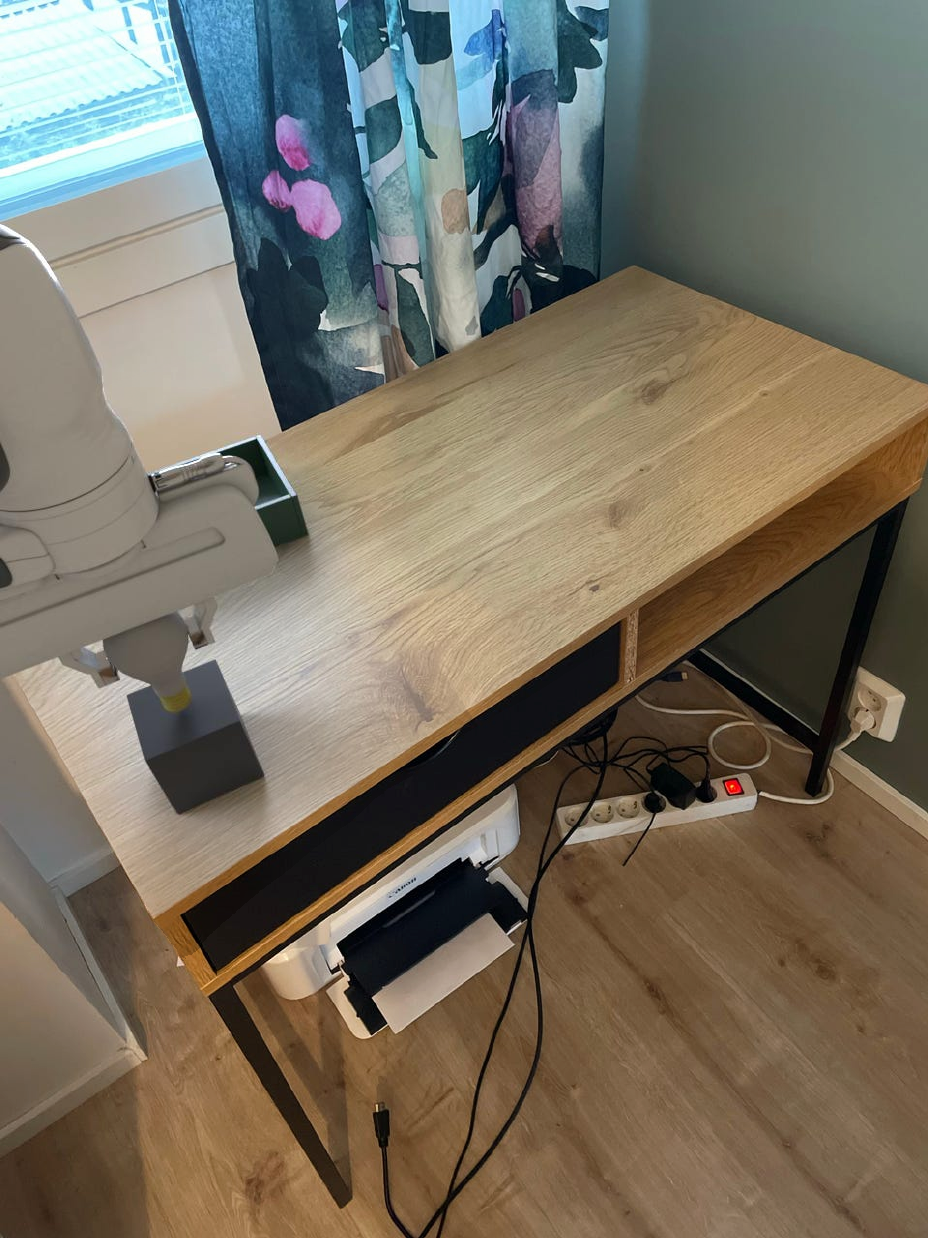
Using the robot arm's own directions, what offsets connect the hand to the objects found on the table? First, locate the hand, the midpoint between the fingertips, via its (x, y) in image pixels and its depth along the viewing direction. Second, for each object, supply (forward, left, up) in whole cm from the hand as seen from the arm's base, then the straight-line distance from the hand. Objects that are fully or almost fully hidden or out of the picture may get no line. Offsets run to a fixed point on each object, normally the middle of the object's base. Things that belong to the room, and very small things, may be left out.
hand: (156, 659), depth 62 cm
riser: (0, 0, -12) cm, 12 cm away
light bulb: (0, 0, -5) cm, 5 cm away
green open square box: (+10, +28, -12) cm, 33 cm away
